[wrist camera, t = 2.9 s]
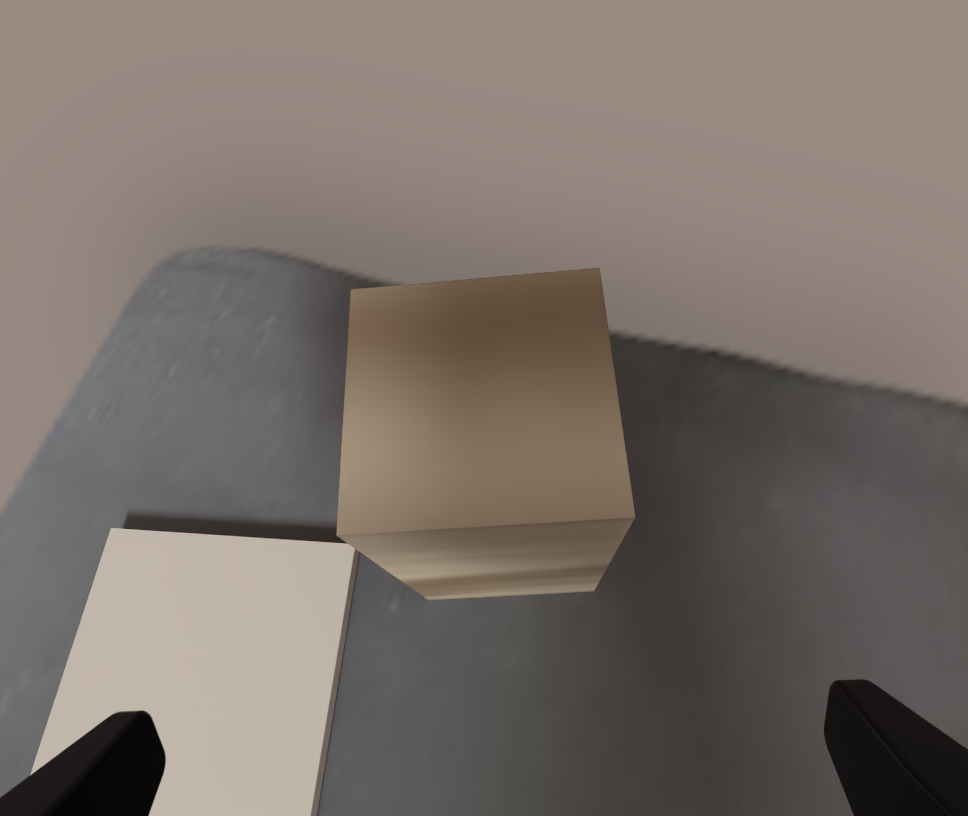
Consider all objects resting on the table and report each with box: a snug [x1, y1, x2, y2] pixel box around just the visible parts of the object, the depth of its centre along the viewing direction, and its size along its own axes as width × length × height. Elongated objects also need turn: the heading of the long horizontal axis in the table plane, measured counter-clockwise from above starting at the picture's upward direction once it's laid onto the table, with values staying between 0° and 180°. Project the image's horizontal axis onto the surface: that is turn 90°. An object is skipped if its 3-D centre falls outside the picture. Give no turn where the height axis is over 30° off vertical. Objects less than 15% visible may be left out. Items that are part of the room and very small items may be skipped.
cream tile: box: [31, 528, 359, 816], centre depth 20 cm, size 9×9×1 cm
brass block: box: [336, 268, 635, 600], centre depth 17 cm, size 6×6×10 cm
